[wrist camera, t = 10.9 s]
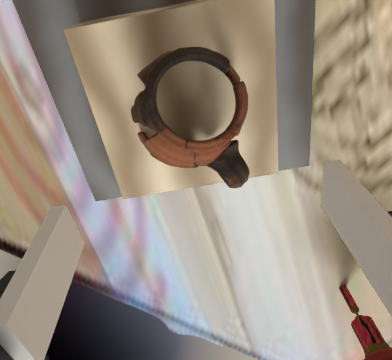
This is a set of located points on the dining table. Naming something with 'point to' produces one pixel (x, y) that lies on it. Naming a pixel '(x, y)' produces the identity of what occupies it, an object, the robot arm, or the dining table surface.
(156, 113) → the pottery mug
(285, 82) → the build base
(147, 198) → the dining table surface
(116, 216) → the dining table surface
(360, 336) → the lantern
